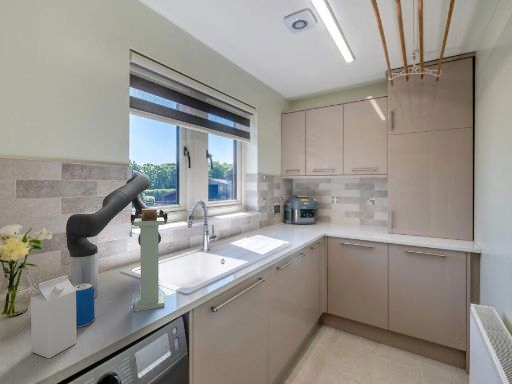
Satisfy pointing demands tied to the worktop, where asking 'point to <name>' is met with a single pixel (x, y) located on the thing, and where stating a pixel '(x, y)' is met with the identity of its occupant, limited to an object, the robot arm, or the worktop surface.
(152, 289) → the shelf stand
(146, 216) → the walnut rail
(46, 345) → the milk carton
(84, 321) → the beverage can
